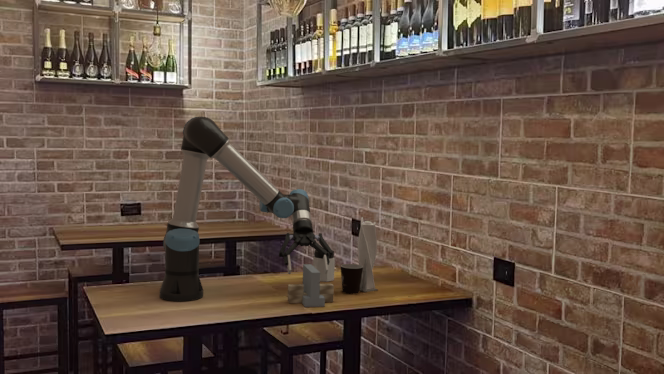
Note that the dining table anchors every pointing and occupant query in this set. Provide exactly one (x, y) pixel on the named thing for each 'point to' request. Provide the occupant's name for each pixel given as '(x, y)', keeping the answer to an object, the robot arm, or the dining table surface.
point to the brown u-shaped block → (297, 293)
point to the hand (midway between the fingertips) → (308, 271)
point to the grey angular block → (312, 287)
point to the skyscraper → (367, 254)
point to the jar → (320, 266)
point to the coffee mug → (351, 278)
